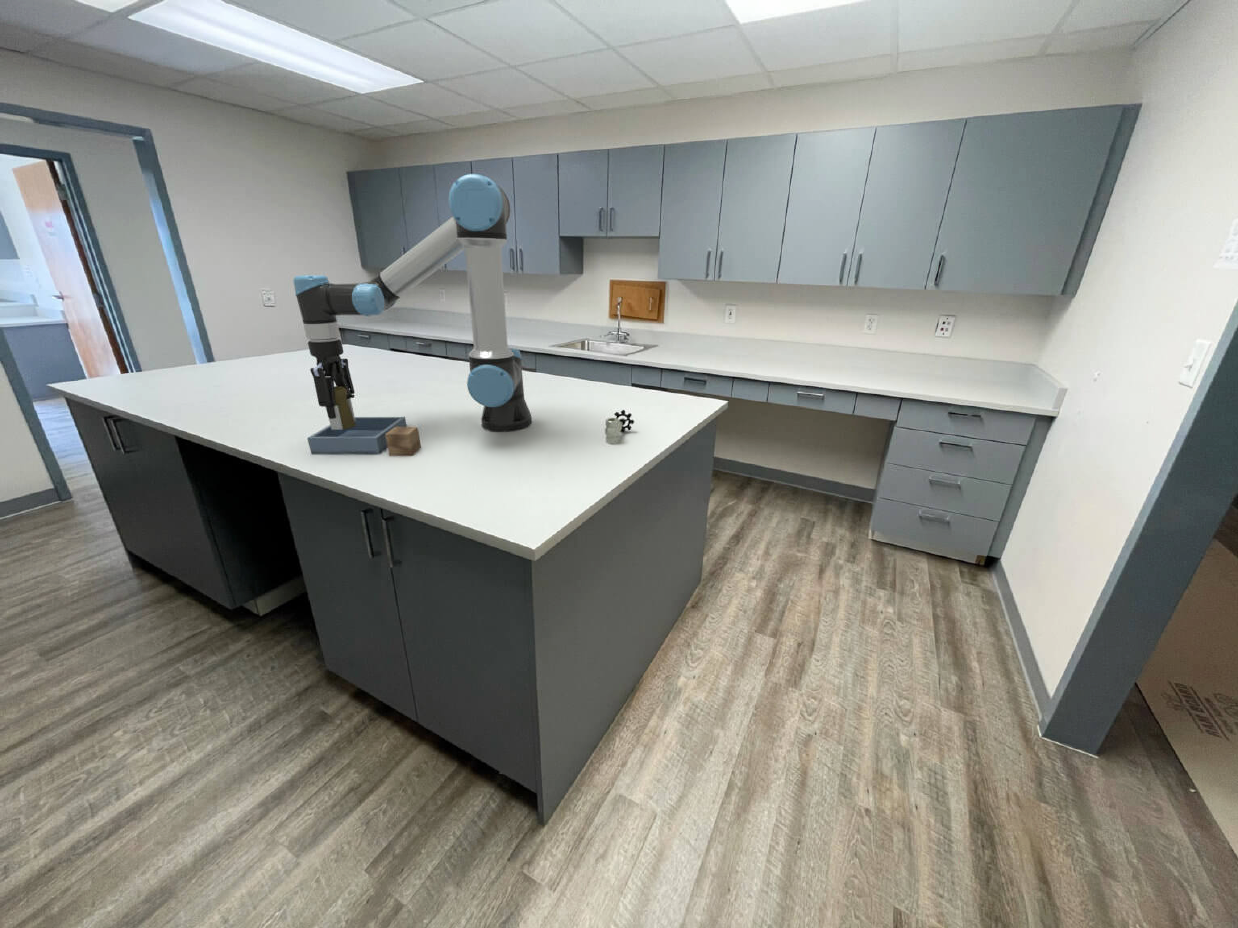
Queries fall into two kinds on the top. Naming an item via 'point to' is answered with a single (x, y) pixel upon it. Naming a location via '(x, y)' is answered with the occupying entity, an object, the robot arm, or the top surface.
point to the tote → (356, 437)
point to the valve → (617, 427)
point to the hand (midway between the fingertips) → (343, 425)
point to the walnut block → (403, 441)
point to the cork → (343, 407)
